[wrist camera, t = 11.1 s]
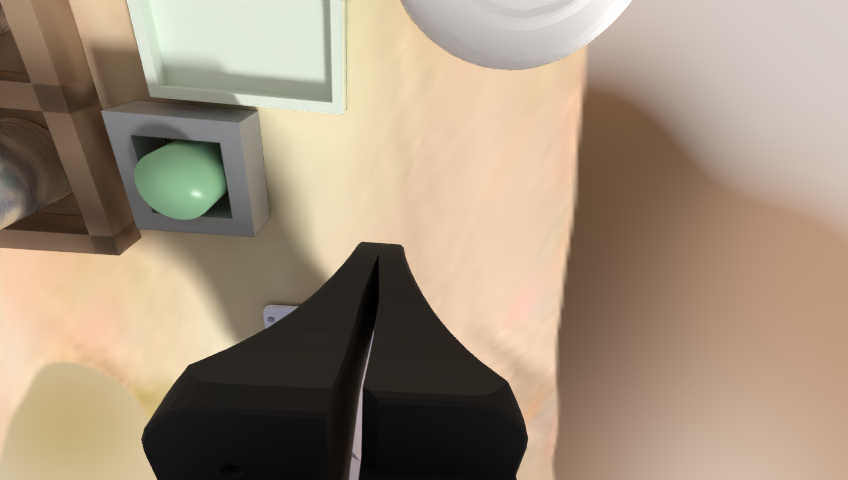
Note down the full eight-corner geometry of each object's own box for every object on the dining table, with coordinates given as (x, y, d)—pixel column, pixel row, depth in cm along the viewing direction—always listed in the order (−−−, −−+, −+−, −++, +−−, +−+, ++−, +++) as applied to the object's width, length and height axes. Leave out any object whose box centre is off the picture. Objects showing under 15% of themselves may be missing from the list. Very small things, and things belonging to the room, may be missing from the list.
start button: (241, 197, 22) (217, 222, 19) (177, 192, 21) (145, 217, 19) (231, 136, 20) (204, 154, 17) (163, 130, 20) (124, 148, 17)
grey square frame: (269, 216, 23) (254, 236, 21) (164, 208, 22) (137, 228, 20) (258, 111, 20) (238, 122, 18) (135, 100, 19) (100, 110, 17)
